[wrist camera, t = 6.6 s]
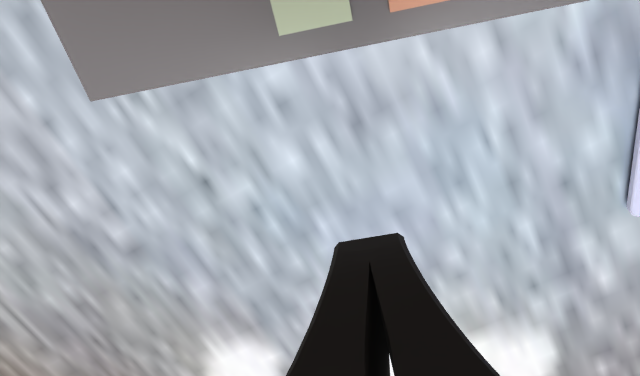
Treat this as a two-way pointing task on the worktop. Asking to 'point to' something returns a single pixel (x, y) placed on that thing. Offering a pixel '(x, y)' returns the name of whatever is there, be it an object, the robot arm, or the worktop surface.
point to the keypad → (240, 33)
